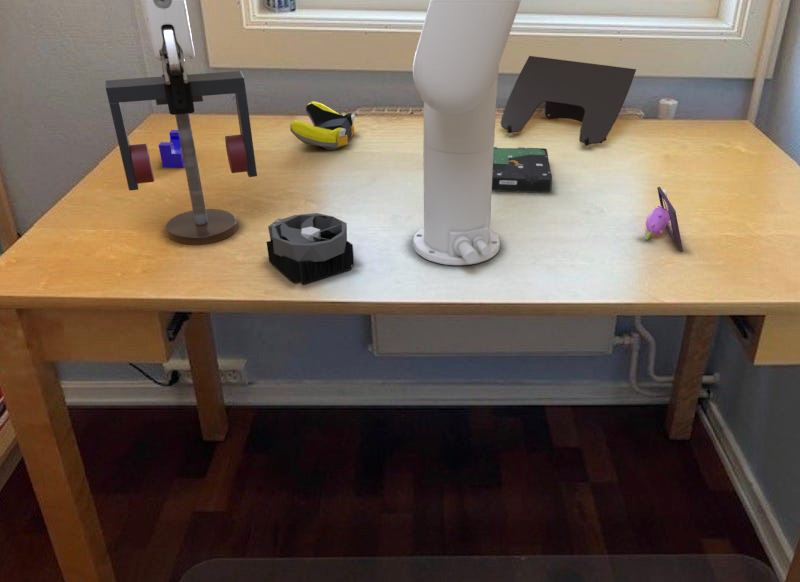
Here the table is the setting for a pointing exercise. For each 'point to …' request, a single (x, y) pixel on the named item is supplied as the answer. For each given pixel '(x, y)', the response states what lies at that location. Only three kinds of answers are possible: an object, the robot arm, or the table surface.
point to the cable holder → (172, 151)
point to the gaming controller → (324, 127)
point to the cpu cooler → (309, 247)
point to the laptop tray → (569, 95)
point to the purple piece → (663, 219)
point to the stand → (196, 198)
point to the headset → (154, 89)
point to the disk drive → (521, 170)
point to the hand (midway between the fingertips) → (180, 107)
